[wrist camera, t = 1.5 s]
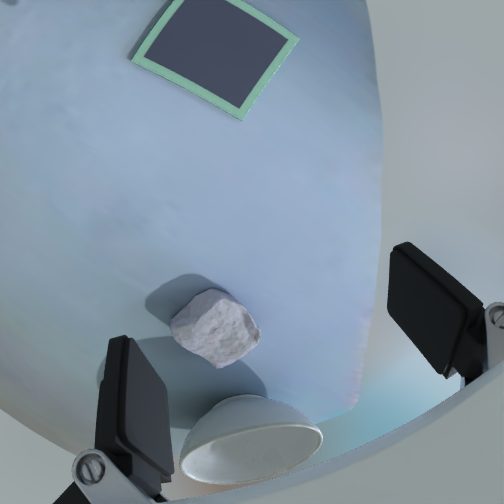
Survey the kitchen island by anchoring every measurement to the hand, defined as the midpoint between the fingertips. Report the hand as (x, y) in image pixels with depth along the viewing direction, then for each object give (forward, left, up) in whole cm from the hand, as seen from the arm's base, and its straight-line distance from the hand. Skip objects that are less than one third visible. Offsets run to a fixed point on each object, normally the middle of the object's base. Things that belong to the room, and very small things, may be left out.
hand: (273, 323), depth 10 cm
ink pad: (-6, +12, -27) cm, 30 cm away
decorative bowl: (+29, -39, -27) cm, 56 cm away
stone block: (+13, -19, -27) cm, 36 cm away
